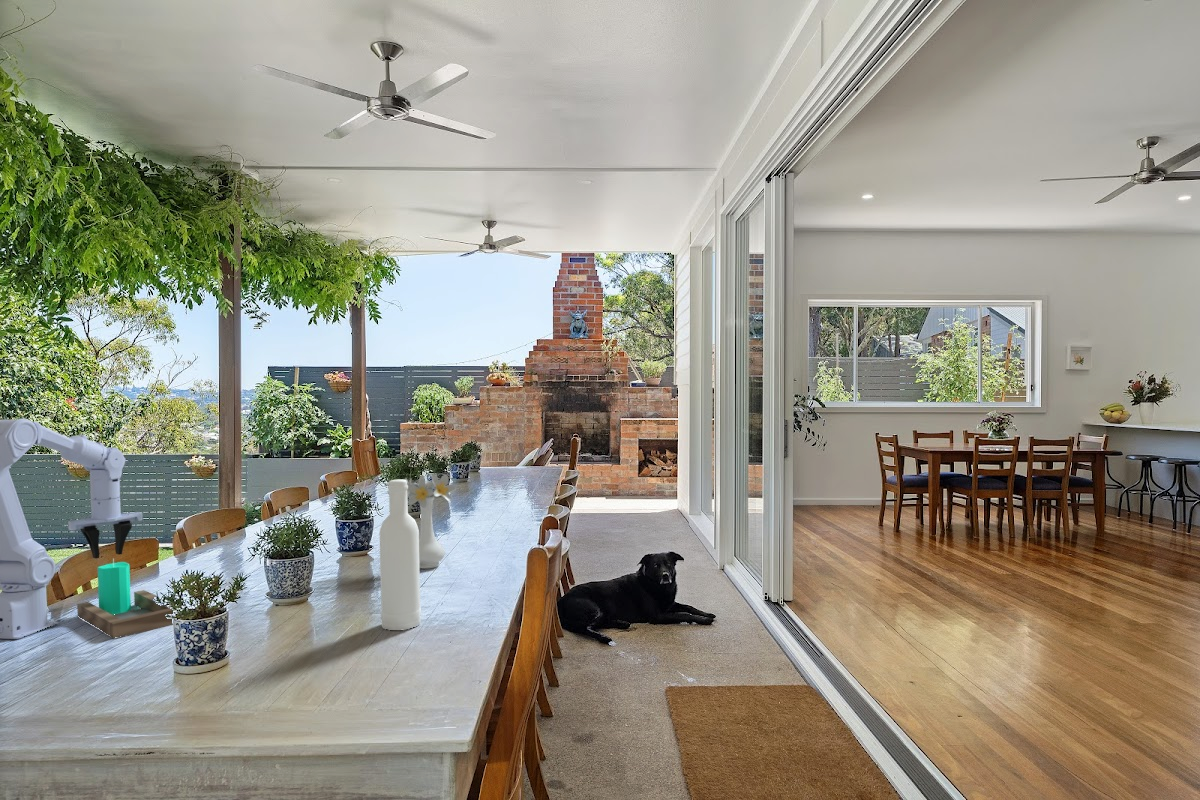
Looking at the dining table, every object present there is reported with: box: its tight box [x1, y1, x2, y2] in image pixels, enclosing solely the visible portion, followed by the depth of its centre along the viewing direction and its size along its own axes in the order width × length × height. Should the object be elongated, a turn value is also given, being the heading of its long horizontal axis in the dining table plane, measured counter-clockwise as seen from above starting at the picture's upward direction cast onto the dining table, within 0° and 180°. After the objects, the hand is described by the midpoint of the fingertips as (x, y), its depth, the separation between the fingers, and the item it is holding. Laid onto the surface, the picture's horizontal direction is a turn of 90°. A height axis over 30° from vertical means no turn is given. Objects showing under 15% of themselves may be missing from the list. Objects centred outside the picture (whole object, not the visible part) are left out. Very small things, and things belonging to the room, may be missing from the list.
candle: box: [97, 558, 132, 615], centre depth 163 cm, size 6×6×12 cm
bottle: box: [379, 478, 422, 631], centre depth 151 cm, size 8×8×30 cm
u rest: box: [76, 589, 173, 639], centre depth 157 cm, size 22×13×3 cm, turn 51°
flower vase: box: [387, 473, 458, 570], centre depth 198 cm, size 13×18×25 cm
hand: (107, 555), depth 172 cm, fingers open, 4 cm apart
